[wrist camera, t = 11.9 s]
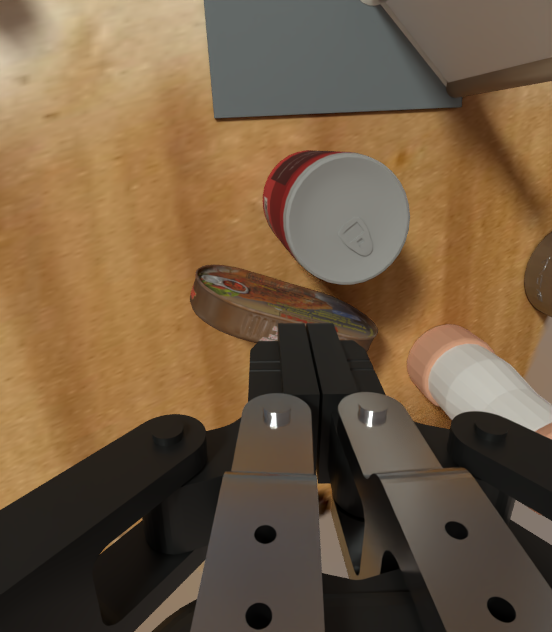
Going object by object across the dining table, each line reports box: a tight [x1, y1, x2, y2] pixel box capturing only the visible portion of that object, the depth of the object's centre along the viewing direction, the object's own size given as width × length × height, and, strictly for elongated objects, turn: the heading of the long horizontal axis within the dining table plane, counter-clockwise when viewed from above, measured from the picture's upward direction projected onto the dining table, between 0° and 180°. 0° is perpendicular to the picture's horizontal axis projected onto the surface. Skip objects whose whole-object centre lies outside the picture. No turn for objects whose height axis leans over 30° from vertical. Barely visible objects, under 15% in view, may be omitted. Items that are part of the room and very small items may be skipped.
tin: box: [190, 265, 378, 353], centre depth 36 cm, size 15×3×8 cm, turn 71°
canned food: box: [263, 150, 410, 285], centre depth 32 cm, size 8×8×11 cm
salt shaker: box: [407, 324, 552, 516], centre depth 36 cm, size 7×7×19 cm
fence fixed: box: [385, 0, 552, 98], centre depth 27 cm, size 12×2×16 cm, turn 48°
